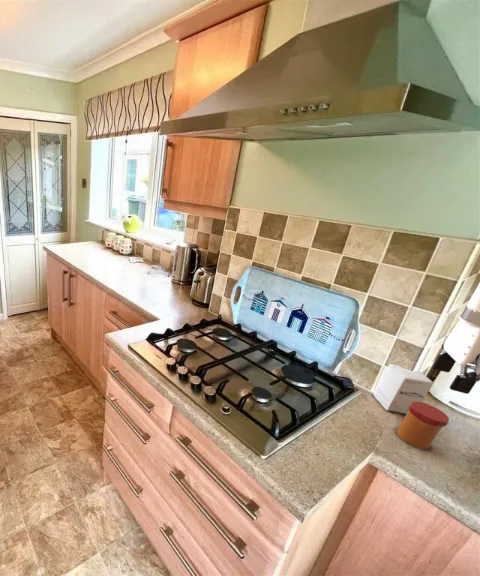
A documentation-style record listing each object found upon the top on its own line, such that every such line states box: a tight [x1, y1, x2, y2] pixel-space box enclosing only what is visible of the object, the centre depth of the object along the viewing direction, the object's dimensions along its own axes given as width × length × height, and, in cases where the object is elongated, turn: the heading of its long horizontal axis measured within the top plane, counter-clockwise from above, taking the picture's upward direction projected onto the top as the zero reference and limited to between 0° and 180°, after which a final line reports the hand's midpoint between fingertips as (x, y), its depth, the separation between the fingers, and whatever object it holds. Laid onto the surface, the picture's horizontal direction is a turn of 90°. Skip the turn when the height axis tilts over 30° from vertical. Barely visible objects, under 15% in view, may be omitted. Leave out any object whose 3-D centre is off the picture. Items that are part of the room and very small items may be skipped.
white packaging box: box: [373, 363, 434, 415], centre depth 94 cm, size 7×7×13 cm
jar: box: [396, 411, 443, 450], centre depth 82 cm, size 7×7×10 cm
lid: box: [409, 401, 450, 428], centre depth 81 cm, size 7×7×2 cm
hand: (448, 380), depth 76 cm, fingers open, 8 cm apart
